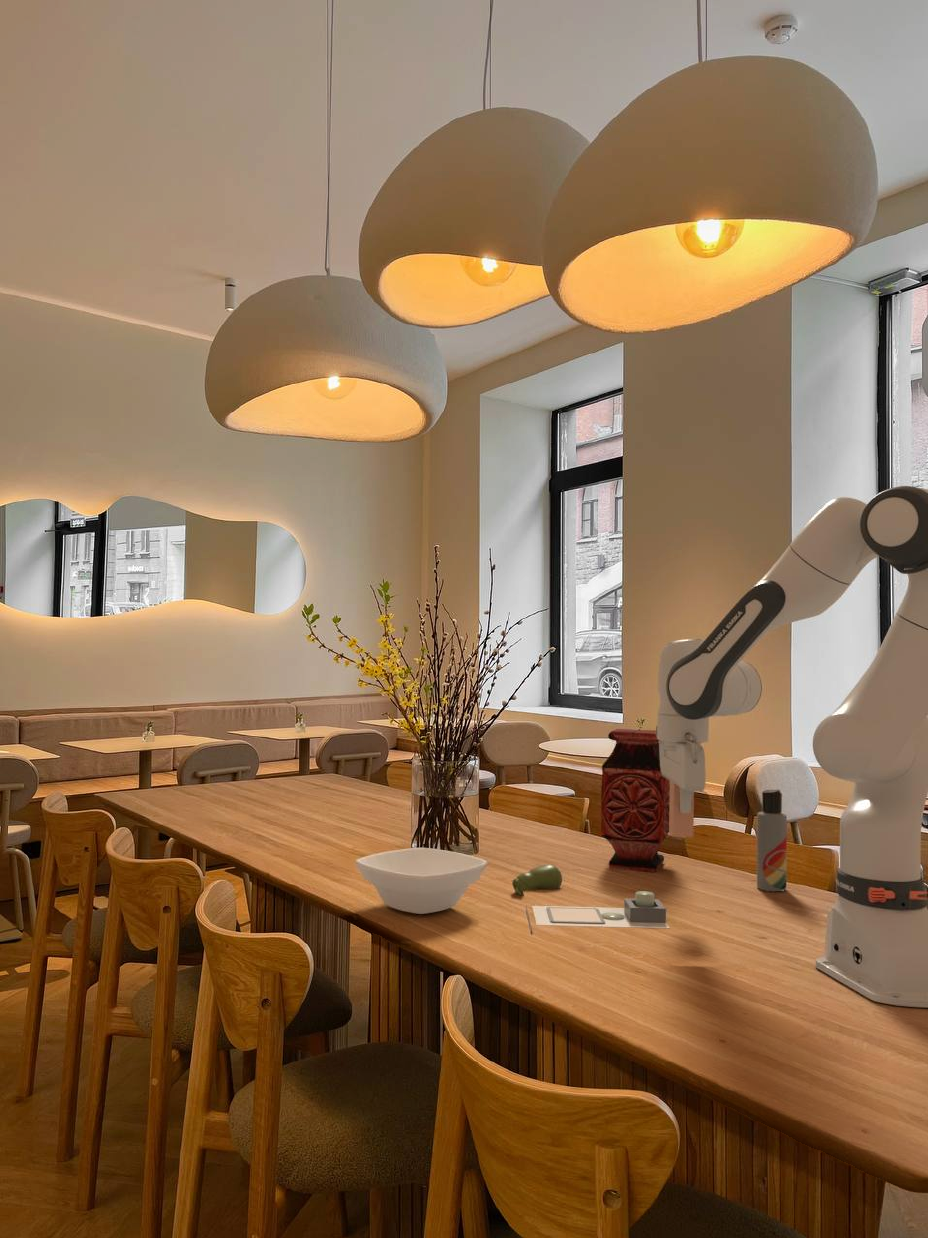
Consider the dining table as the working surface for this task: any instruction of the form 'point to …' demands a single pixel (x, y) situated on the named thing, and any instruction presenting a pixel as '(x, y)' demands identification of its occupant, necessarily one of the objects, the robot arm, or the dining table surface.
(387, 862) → the bowl
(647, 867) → the vase
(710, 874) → the dining table surface
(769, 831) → the lotion bottle
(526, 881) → the pear
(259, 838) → the dining table surface
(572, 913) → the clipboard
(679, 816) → the terracotta rectangular block
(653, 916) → the button housing
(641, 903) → the button
